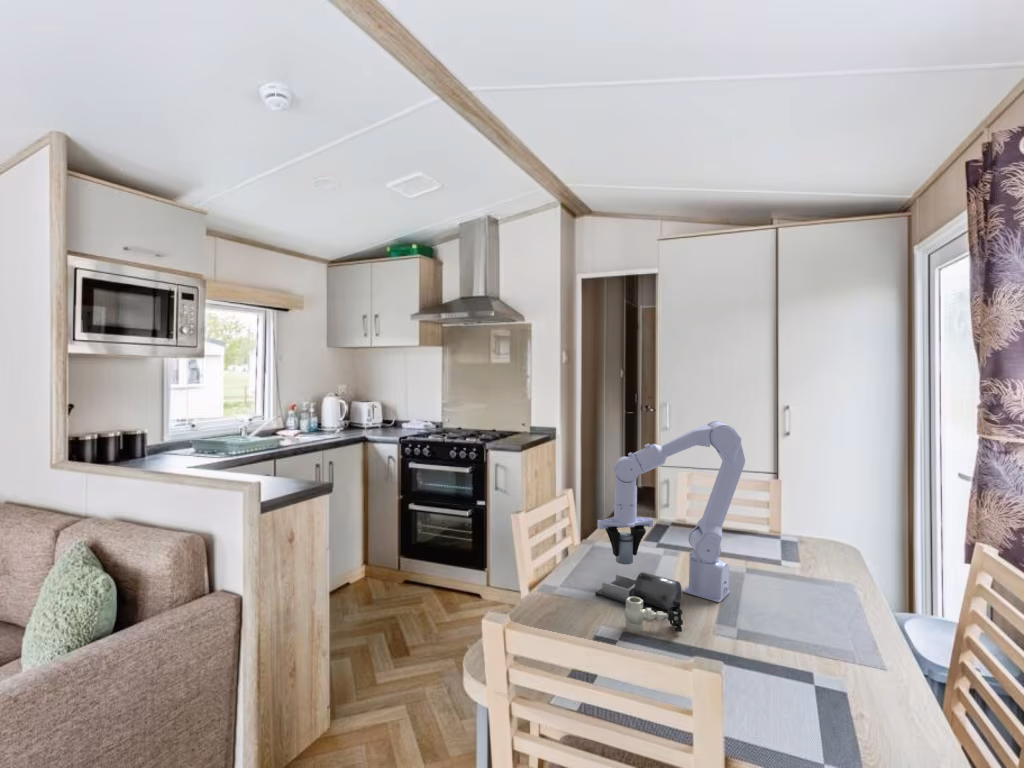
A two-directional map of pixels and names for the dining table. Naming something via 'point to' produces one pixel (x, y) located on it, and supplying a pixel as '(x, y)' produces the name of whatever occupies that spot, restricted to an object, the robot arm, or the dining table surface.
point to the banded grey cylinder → (625, 548)
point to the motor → (642, 590)
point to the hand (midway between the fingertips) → (624, 554)
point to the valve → (650, 615)
